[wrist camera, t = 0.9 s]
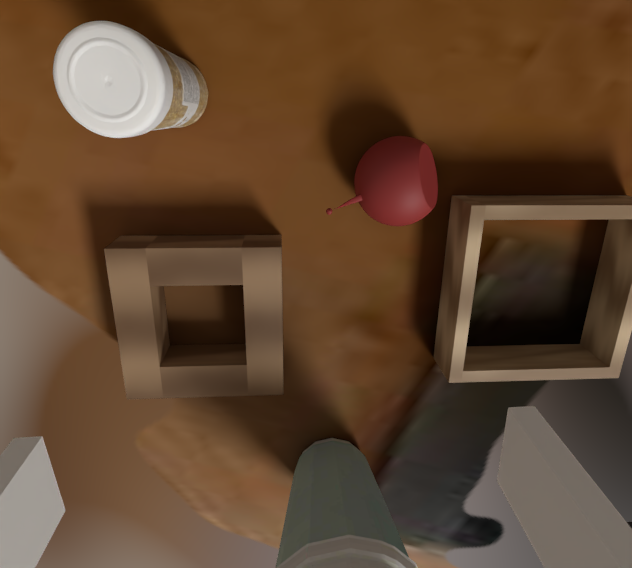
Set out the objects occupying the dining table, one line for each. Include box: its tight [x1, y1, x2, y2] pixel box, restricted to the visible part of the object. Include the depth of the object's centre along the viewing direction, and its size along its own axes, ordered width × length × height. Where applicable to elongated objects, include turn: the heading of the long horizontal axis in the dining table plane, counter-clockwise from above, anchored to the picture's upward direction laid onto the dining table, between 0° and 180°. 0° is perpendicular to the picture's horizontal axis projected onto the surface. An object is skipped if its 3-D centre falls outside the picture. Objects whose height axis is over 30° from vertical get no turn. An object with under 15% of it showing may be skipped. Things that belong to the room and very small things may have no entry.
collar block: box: [104, 235, 284, 399], centre depth 36 cm, size 12×12×4 cm
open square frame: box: [434, 195, 632, 383], centre depth 37 cm, size 14×14×4 cm
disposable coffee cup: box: [276, 438, 417, 568], centre depth 37 cm, size 11×11×15 cm
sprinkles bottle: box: [53, 21, 208, 138], centre depth 26 cm, size 5×5×14 cm
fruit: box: [326, 136, 438, 226], centre depth 32 cm, size 6×6×8 cm
